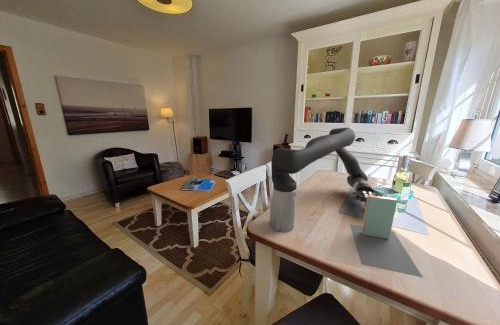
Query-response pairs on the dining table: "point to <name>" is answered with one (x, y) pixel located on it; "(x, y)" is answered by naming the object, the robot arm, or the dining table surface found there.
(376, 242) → the mat
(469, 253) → the dining table surface
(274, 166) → the robot arm
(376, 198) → the glazed tile
